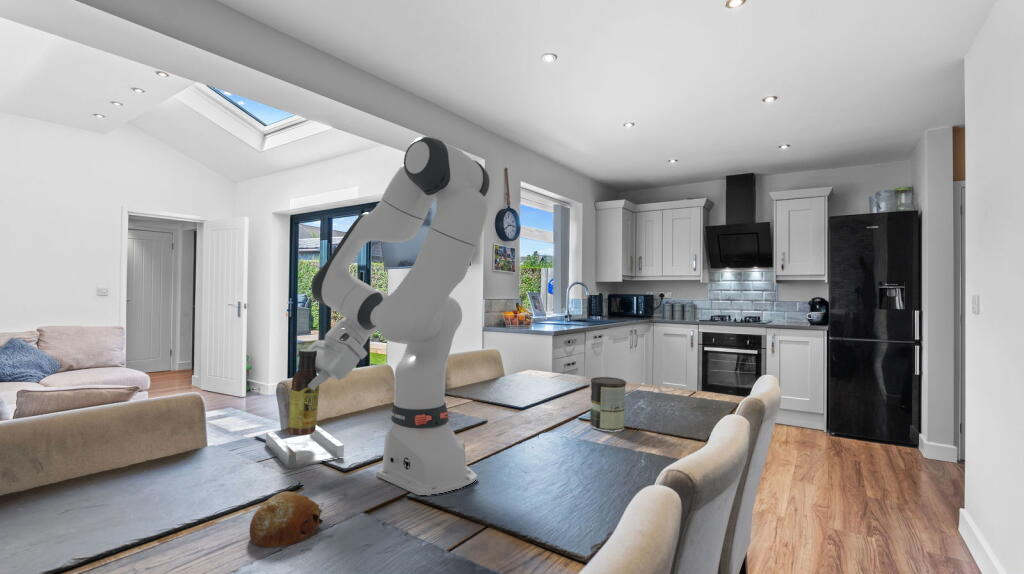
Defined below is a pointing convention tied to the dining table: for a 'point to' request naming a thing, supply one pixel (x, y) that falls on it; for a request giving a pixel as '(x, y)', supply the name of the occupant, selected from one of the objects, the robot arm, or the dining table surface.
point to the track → (305, 448)
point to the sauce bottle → (304, 396)
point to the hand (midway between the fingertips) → (302, 385)
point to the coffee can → (607, 403)
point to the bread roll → (285, 520)
